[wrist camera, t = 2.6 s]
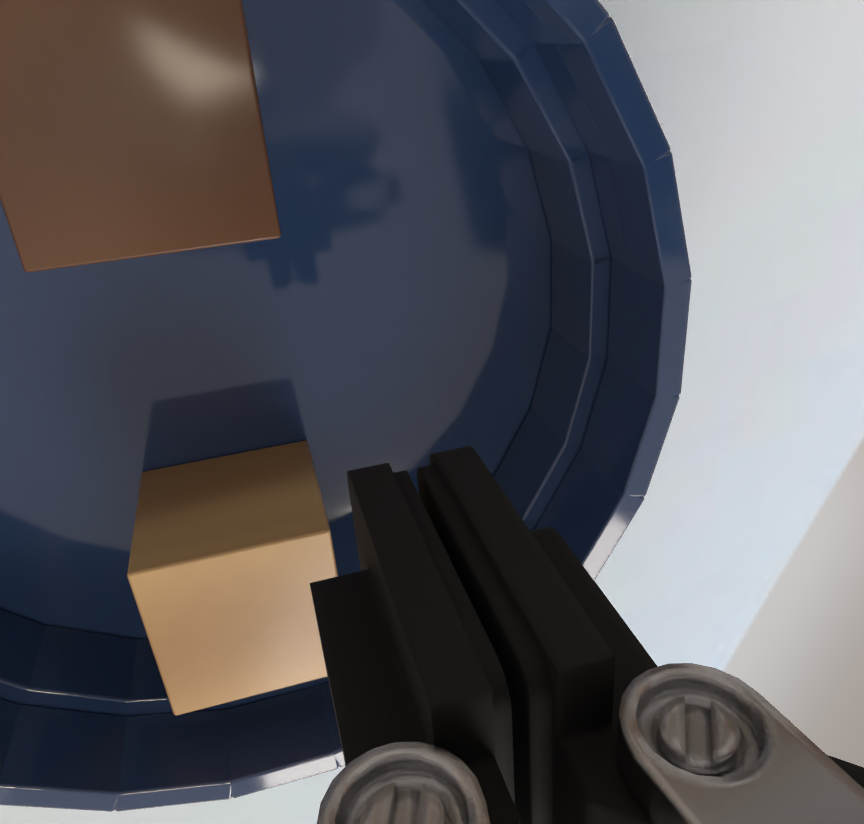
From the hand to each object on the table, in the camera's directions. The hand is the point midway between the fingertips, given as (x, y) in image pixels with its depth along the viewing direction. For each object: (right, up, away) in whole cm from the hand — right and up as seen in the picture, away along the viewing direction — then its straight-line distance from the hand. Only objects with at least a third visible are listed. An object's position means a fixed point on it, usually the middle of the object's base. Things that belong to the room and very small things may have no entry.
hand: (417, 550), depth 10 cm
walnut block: (-5, +8, +4) cm, 11 cm away
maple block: (-5, -1, +9) cm, 10 cm away
